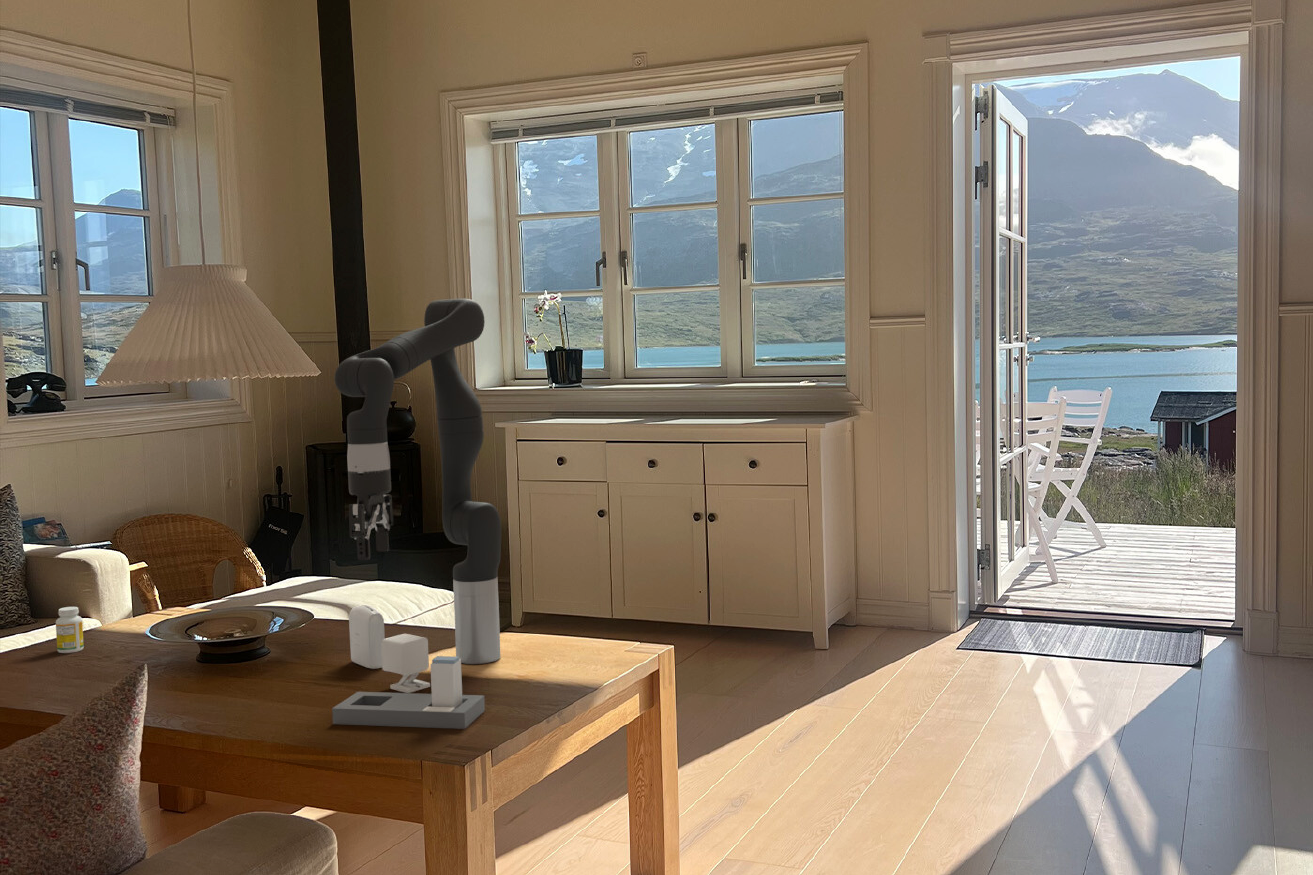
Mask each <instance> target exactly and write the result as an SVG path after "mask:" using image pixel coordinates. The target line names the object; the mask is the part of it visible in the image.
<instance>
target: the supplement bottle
mask: <svg viewBox="0 0 1313 875" xmlns="http://www.w3.org/2000/svg"><path fill="white" fill-rule="evenodd" d="M79 613H80V610H79V607H77V606H66V607H61V608H59V609H58V616H59V617H58V618H57V619H56V620H55V633H56V635H55V636H56V648H57V650H56V651H57V652H58V653H60V654H70V653H73V654H74V653H77V652H81V651H82V650H83V649H85V648H84V627H83V618H82V617H81V616H79Z"/></svg>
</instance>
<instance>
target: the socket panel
mask: <svg viewBox="0 0 1313 875" xmlns="http://www.w3.org/2000/svg"><path fill="white" fill-rule="evenodd" d="M462 701H463V704H461V705H460V706H459V707H458V708H455V707H432V693H418V692H417V693H416V692H415V693H414V692H411V693H405V692H381V691H379V692H378V691H356V692H355V693H354V694H352V695H350V696H349V697H347V698H346V699H345V700H342V701H341V702H340V703H338V704H336V705H335V706H333V707H332V708H331V710H332V712H331V713H332V725H346V726H348V725H350V726H353V725H354V726H372V727H373V726H377V727H378V726H379V727H380V726H381V727H404V728H405V727H406V728H407V727H409V728H427V729H428V728H432V729H433V728H434V729H458V730H460V729H462V730H463V729H464V730H465V729H466V728H468V727H469V726H470V725H471V724H472V723H473V722H474V721H476V719H477V718H479V717H480V716H481V715H482V714H483V713H484V712H485V710H486V706H485V705H486V704H485V702H486V701H485V695H481V694H480V695H479V694H478V695H477V694H462Z"/></svg>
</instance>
